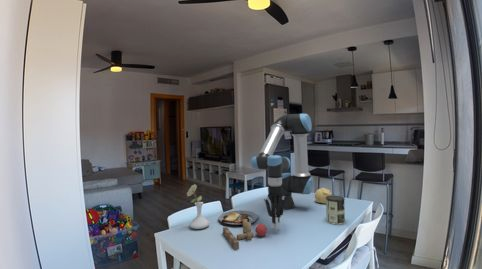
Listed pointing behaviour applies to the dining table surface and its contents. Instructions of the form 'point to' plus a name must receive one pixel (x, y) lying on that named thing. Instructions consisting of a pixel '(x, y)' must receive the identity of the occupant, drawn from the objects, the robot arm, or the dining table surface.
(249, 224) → the pin
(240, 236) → the front pin
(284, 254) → the dining table surface
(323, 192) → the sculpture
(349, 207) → the dining table surface
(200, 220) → the flower in vase
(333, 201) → the coffee can
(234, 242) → the back wall
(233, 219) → the food plate
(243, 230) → the pin
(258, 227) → the ball
